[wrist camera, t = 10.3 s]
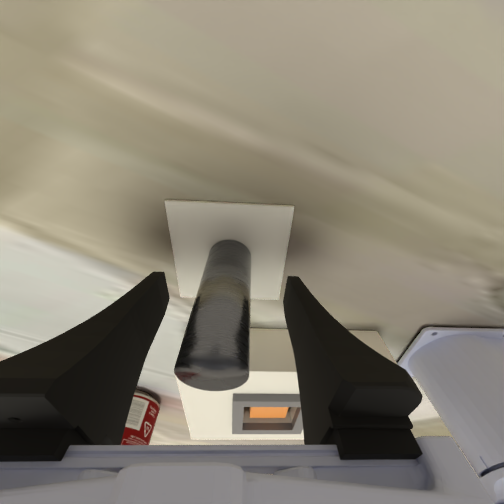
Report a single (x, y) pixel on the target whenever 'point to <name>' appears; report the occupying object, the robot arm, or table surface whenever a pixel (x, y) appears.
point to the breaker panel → (258, 393)
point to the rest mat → (229, 228)
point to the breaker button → (268, 412)
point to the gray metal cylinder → (219, 322)
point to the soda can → (140, 419)
